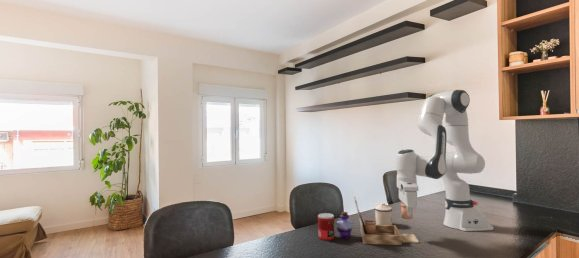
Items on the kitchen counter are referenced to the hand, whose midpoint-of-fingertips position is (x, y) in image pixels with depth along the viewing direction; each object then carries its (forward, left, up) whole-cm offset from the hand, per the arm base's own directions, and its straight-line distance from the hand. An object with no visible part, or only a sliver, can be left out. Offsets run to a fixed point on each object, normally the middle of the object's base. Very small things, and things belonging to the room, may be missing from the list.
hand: (407, 213), depth 137 cm
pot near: (0, 0, -2) cm, 2 cm away
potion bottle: (+29, 0, -12) cm, 32 cm away
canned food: (+38, +2, -12) cm, 40 cm away
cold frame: (+14, 0, -12) cm, 19 cm away
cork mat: (0, 0, -12) cm, 12 cm away
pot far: (+17, -3, -12) cm, 21 cm away
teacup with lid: (+8, -22, -12) cm, 27 cm away
